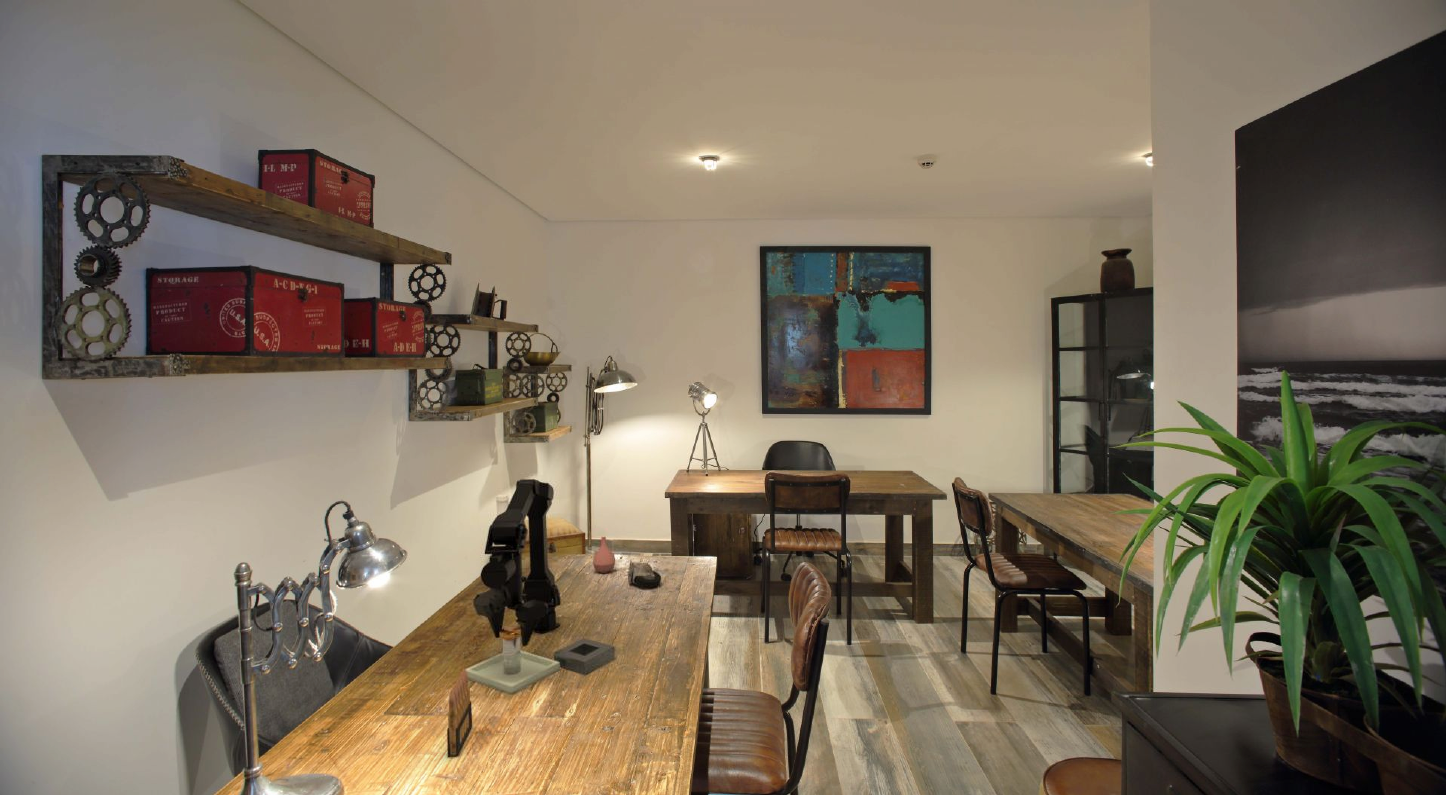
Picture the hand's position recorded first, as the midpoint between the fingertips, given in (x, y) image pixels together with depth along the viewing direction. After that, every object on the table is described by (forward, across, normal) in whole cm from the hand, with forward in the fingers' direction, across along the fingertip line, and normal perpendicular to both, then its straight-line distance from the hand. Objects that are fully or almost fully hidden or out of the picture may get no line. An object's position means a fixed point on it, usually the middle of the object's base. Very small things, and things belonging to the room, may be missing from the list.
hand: (511, 641), depth 154 cm
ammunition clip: (+8, +14, -24) cm, 29 cm away
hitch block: (+8, +10, +13) cm, 18 cm away
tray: (+8, 0, 0) cm, 8 cm away
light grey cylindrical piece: (+7, 0, 0) cm, 7 cm away
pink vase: (+8, -35, +69) cm, 78 cm away
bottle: (+8, -51, +40) cm, 66 cm away
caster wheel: (+8, -14, +65) cm, 67 cm away
